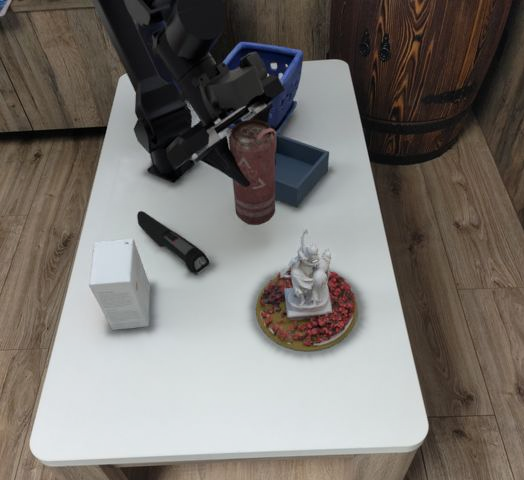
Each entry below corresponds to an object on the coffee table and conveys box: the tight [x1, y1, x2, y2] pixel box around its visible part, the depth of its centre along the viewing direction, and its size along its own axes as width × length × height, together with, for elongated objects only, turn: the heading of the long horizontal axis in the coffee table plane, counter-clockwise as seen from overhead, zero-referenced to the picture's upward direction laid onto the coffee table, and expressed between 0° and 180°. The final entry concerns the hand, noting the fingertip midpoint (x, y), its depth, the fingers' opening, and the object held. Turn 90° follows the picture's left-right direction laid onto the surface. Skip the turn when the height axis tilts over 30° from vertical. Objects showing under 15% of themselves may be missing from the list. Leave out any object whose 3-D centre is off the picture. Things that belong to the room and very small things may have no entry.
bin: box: [275, 133, 330, 208], centre depth 88 cm, size 11×11×4 cm
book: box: [136, 21, 186, 104], centre depth 95 cm, size 14×5×20 cm, turn 178°
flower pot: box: [222, 41, 304, 135], centre depth 94 cm, size 13×13×12 cm
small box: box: [88, 238, 151, 331], centre depth 71 cm, size 8×6×10 cm
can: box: [228, 120, 277, 226], centre depth 72 cm, size 6×6×14 cm
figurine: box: [255, 228, 359, 352], centre depth 68 cm, size 15×15×14 cm
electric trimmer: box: [136, 210, 211, 275], centre depth 81 cm, size 4×16×3 cm, turn 45°
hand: (261, 176), depth 70 cm, fingers closed on can, 5 cm apart
